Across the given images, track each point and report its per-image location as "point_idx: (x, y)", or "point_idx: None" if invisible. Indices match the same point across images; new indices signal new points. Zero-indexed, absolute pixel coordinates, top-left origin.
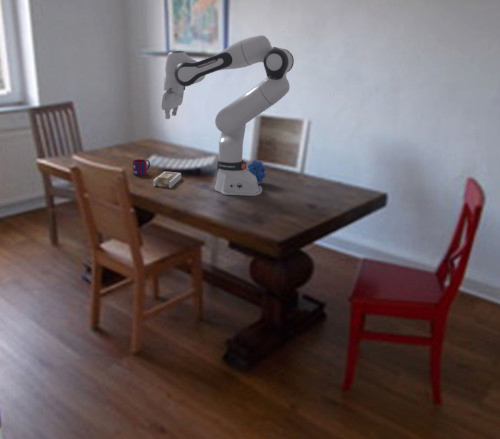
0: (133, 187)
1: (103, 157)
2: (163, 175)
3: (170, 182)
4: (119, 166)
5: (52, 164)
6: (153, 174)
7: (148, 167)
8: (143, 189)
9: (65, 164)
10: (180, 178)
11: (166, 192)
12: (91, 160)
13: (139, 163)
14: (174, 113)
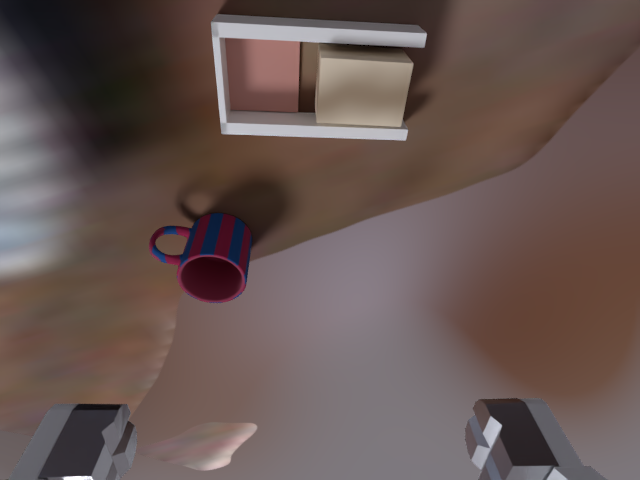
0: (429, 199)
1: (78, 393)
2: (359, 104)
3: (425, 33)
4: (156, 326)
5: (235, 447)
6: (201, 184)
7: (167, 229)
8: (455, 152)
9: (219, 430)
10: (229, 16)
11: (503, 24)
12: (137, 404)
13: (243, 268)
14: (113, 457)
